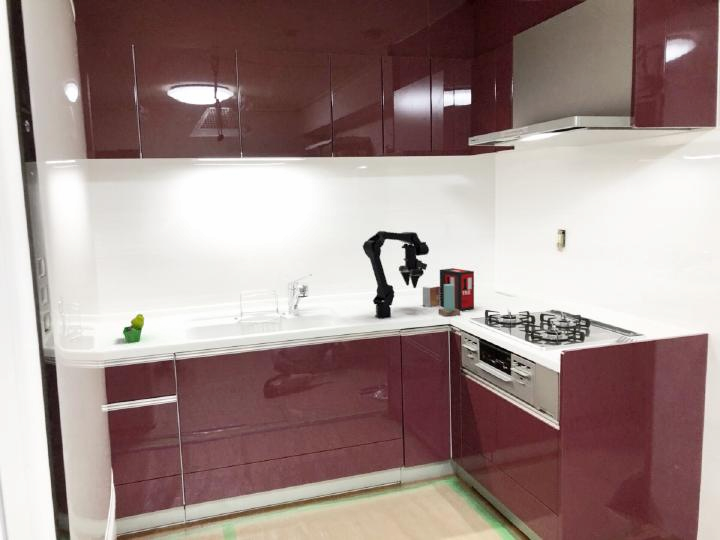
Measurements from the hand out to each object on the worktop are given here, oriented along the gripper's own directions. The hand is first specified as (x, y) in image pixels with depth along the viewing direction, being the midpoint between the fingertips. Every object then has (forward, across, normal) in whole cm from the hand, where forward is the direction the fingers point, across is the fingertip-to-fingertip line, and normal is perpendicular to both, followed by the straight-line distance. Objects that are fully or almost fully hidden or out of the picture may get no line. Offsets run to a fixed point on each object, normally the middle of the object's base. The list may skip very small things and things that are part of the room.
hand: (411, 286), depth 302 cm
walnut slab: (+13, -15, -14) cm, 24 cm away
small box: (+13, +10, -16) cm, 23 cm away
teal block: (+10, -15, -14) cm, 23 cm away
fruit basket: (+13, -3, +134) cm, 135 cm away
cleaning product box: (+13, -2, -25) cm, 28 cm away
